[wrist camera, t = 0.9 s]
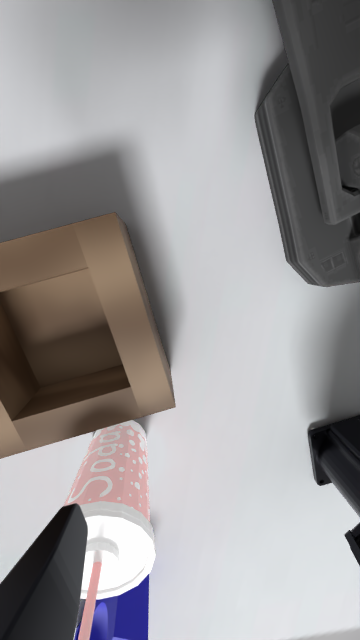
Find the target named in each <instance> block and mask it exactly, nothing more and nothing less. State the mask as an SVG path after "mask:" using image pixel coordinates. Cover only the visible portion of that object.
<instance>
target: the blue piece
mask: <svg viewBox="0 0 360 640" xmlns="http://www.w3.org/2000/svg"><path fill="white" fill-rule="evenodd" d="M148 604H149V574H148V575H147V576H146V577H145V578H144V579H143V580H142V581H141V583H140V584H139V585H138V586H136V587H134V588H132V589H130V590H128V591H126V592H124V593H123V594H121V595H117V596H113V597H108V598H103V599H96V603H95V609H94V615H93V621H92V627H91V632H90V638H89V640H148ZM81 622H82V621H81ZM81 622H80V624H79V626H78V627H77V629H76V634H75V639H74V640H78V637H79V632H80V627H81Z"/></svg>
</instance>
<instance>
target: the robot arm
mask: <svg viewBox="0 0 360 640" xmlns="http://www.w3.org/2000/svg"><path fill="white" fill-rule="evenodd" d="M314 435H315V436H314ZM308 438H309V444H310V451H311V458H312V465H313V472H314V479H315V481H316V483H317V484H318V485H320V486H322V485H325V484H329V483H333V484H334V485H335V486H336V488H337V489H338V490H339V492H340V493H341V494H342V495H343V497H344V498H345V499H346V500H347V502H348V503H349V504H350V506H351V507H352V508H353V509H354V511H355V512H356V513H357V514H358V516H359V517H360V416H357V417H354V418H351V419H347V420H344V421H341V422H337V423H334V424H331V425H327V426H324V427H321V428H317V429H314V430H311V431H310V432H309V434H308ZM87 537H88V525H87V522H86V520H85V517H84V515H83V512H82V510H81V508H80V506H79V504H77V503H74V504H70V505H66V506H63V507H62V508H61V509H60V510H59V511H58V512H57V514H56V515H55V516H54V517H53V519H52V520H51V521H50V522H49V524H48V525H47V526H46V527H45V529H44V530H43V531H42V532H41V534H40V535H39V536H38V537H37V539H36V540H35V541H34V542H33V544H32V545H31V546H30V547H29V549H28V550H27V551H26V552H25V554H24V555H23V556H22V557H21V559H20V560H19V561H18V562H17V564H16V565H15V566H14V567H13V569H12V570H11V571H10V572H9V574H8V575H7V576H6V577H5V579H4V580H3V581H2V582H1V584H0V640H73V638H74V633H75V628H76V622H77V617H78V611H79V604H80V597H81V589H82V580H83V572H84V563H85V555H86V546H87ZM345 537H346V539H347V541H348V543H349V545H350V548H351V550H352V552H353V554H354V556H355V558H356V560H357V562H358V564H359V565H360V523H359V524H358V525H357V526H355V527H354V528H353V529H352V530H351V531H350V530H349V531H348V532H347V533H346V534H345Z"/></svg>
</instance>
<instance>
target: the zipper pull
mask: <svg viewBox="0 0 360 640" xmlns="http://www.w3.org/2000/svg"><path fill="white" fill-rule="evenodd" d="M272 1H273V5H274V9H275V12H276V16H277V20H278V24H279V28H280V31H281V35H282V39H283V43H284V46H285V50H286V54H287V58H288V62H289V63H288V65H287V66H286V68H285V69H284V71H283V72H282V73H281V75H280V76H279V78H278V79H277V81H276V82H275V84H274V85H273V87H272V88H271V90H270V91H269V93H268V95H267V96H266V98H265V99H264V101H263V102H262V104H261V105H260V107H259V108H258V110H257V111H256V113H255V123H256V128H257V132H258V137H259V141H260V145H261V150H262V154H263V158H264V163H265V167H266V171H267V176H268V180H269V184H270V189H271V193H272V197H273V202H274V206H275V210H276V215H277V219H278V223H279V228H280V233H281V238H282V242H283V247H284V252H285V257H286V261H287V262H288V263H289V264H290V265H291V266H292V267H293V269H294V270H295V271H296V272H297V273H298V274H299V275H300V276H301V277H302V278H303V279H304V280H305V281H306V282H307V283H308V284H312V285H317V286H323V287H330V286H336V285H343V284H349V283H355V282H360V0H272Z"/></svg>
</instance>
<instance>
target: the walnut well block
mask: <svg viewBox="0 0 360 640" xmlns="http://www.w3.org/2000/svg"><path fill="white" fill-rule="evenodd" d="M174 407H176V406H175V399H174V392H173V385H172V378H171V371H170V368H169V365H168V361H167V358H166V355H165V352H164V348H163V345H162V342H161V338H160V335H159V332H158V329H157V325H156V322H155V319H154V315H153V312H152V309H151V306H150V302H149V299H148V296H147V292H146V289H145V286H144V282H143V279H142V276H141V273H140V269H139V266H138V263H137V259H136V256H135V253H134V250H133V246H132V243H131V240H130V236H129V233H128V230H127V226H126V224H125V223H124V222H123V220H122V219H121V218H120V217H119V216H118V215H117V214H116V213H115V212H114V213H110V214H106V215H102V216H99V217H95V218H91V219H88V220H84V221H80V222H76V223H73V224H69V225H65V226H61V227H58V228H54V229H50V230H47V231H43V232H39V233H35V234H32V235H28V236H24V237H20V238H17V239H13V240H9V241H5V242H2V243H0V459H1V458H4V457H8V456H11V455H14V454H18V453H21V452H25V451H28V450H31V449H35V448H38V447H42V446H45V445H48V444H52V443H55V442H59V441H62V440H65V439H69V438H72V437H76V436H79V435H82V434H86V433H89V432H93V431H96V430H99V429H103V428H106V427H110V426H113V425H116V424H120V423H123V422H127V421H130V420H134V419H137V418H140V417H144V416H147V415H151V414H154V413H157V412H161V411H164V410H168V409H171V408H174Z"/></svg>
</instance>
